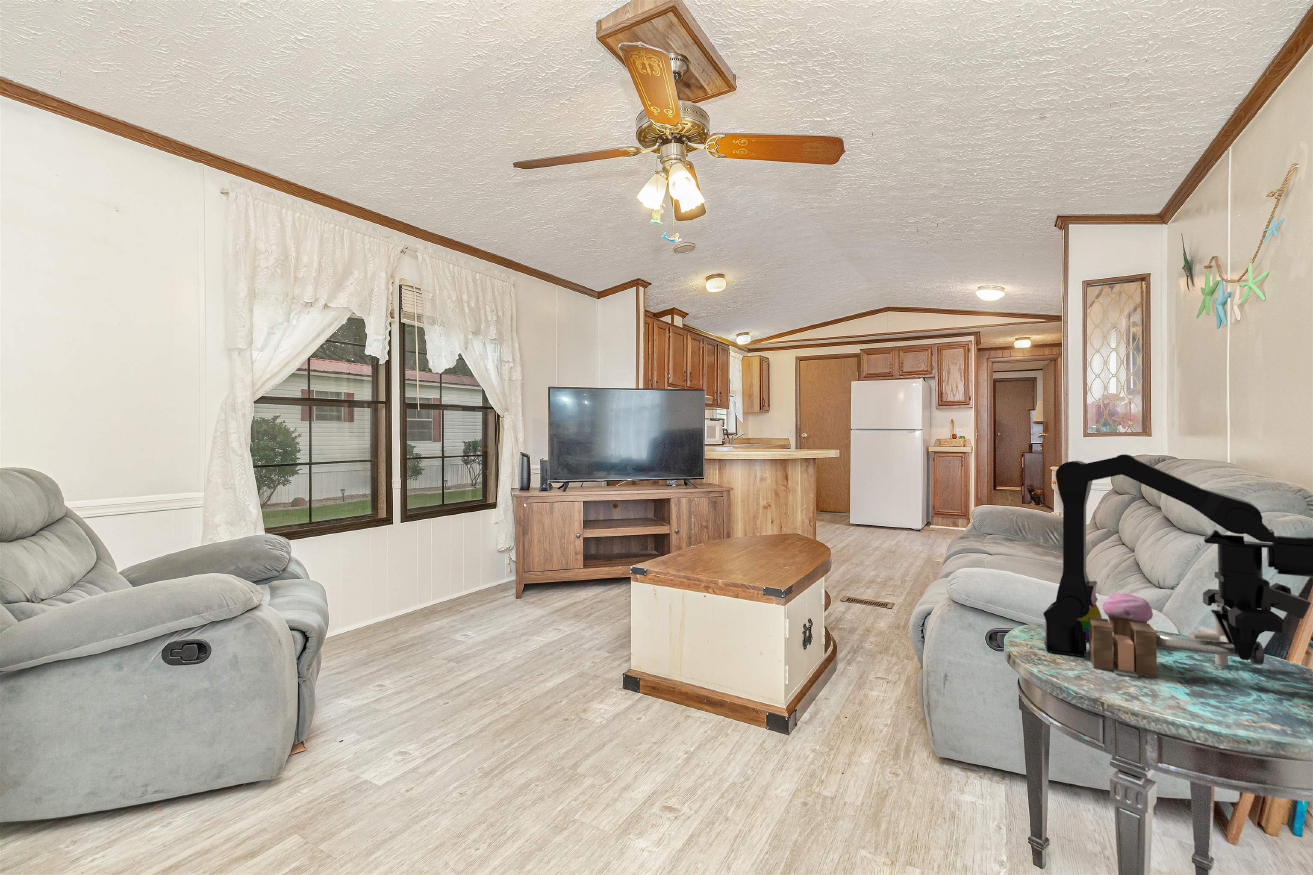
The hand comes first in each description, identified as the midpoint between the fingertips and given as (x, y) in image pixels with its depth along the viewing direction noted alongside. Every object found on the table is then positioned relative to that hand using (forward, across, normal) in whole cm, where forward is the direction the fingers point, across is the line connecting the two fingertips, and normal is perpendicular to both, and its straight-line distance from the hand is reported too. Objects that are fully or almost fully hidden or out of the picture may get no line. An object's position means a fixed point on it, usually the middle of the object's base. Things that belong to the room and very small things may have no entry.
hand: (1241, 657), depth 107 cm
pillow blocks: (+5, 0, +17) cm, 18 cm away
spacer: (+5, 0, +17) cm, 18 cm away
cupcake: (+5, +21, +13) cm, 25 cm away
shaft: (+1, 0, +6) cm, 6 cm away
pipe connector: (+5, +11, 0) cm, 12 cm away
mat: (+5, 0, +17) cm, 18 cm away
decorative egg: (+5, +18, +22) cm, 29 cm away
